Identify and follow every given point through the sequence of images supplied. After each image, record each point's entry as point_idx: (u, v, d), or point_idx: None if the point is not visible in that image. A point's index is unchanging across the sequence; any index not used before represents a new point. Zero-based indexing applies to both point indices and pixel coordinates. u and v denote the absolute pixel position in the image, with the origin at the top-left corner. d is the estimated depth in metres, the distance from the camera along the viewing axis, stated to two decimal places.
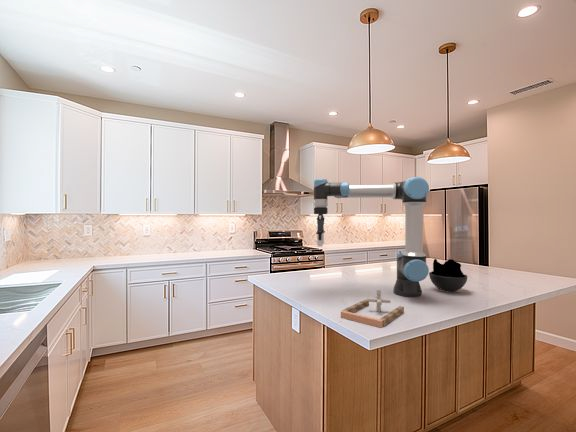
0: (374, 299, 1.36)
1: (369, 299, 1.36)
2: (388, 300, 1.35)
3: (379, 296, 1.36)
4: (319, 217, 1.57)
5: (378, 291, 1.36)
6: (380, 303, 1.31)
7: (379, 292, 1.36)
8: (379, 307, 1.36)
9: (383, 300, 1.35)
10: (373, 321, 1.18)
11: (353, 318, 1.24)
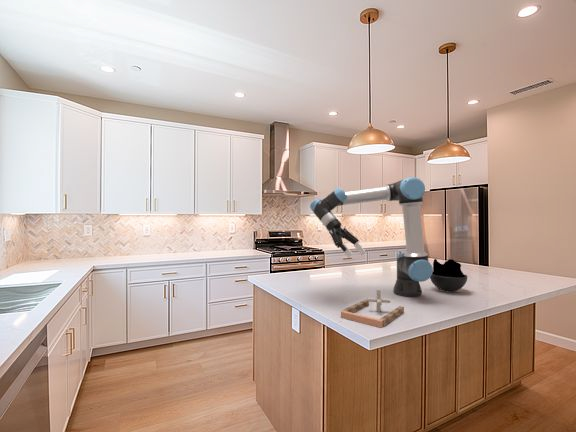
0: (374, 299, 1.36)
1: (369, 299, 1.36)
2: (388, 300, 1.35)
3: (379, 296, 1.36)
4: (330, 232, 1.45)
5: (378, 291, 1.36)
6: (380, 303, 1.31)
7: (379, 292, 1.36)
8: (379, 307, 1.36)
9: (383, 300, 1.35)
10: (373, 321, 1.18)
11: (353, 318, 1.24)
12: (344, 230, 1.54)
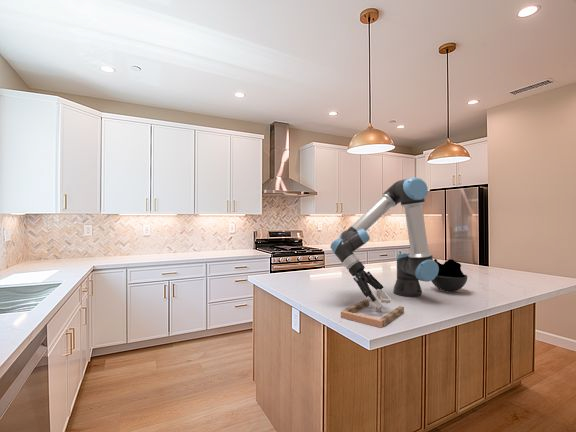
0: None
1: (369, 299, 1.36)
2: (388, 300, 1.35)
3: (379, 296, 1.36)
4: (355, 279, 1.36)
5: (378, 291, 1.36)
6: None
7: (379, 292, 1.36)
8: None
9: (383, 300, 1.35)
10: (373, 321, 1.18)
11: (353, 318, 1.24)
12: (368, 273, 1.46)
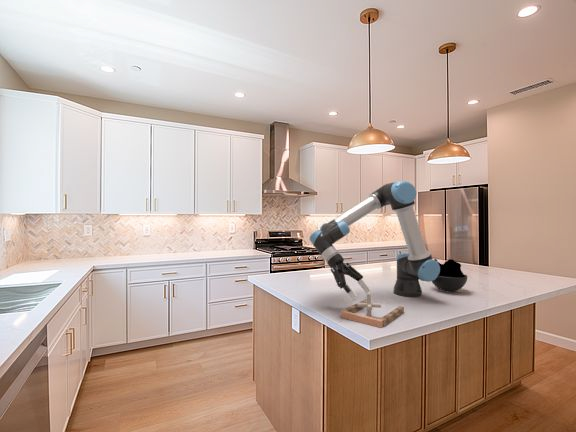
0: (364, 304, 1.29)
1: (359, 304, 1.29)
2: (379, 305, 1.27)
3: (369, 300, 1.28)
4: (332, 270, 1.32)
5: (368, 295, 1.28)
6: (370, 308, 1.24)
7: (369, 296, 1.28)
8: (369, 312, 1.28)
9: (374, 305, 1.28)
10: (373, 321, 1.18)
11: (353, 318, 1.24)
12: (347, 265, 1.41)
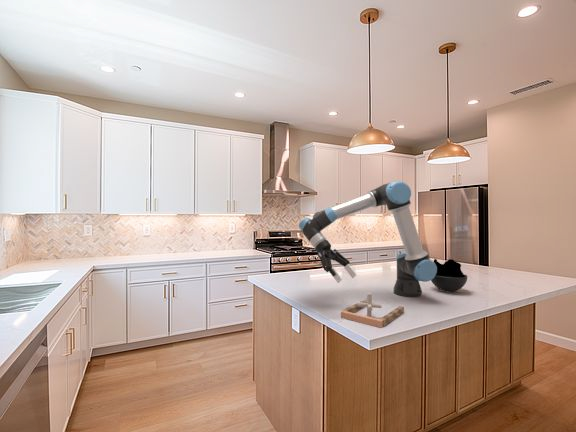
0: (365, 304, 1.28)
1: (359, 304, 1.29)
2: (379, 305, 1.27)
3: (370, 301, 1.28)
4: (319, 254, 1.38)
5: (369, 295, 1.28)
6: (371, 308, 1.24)
7: (370, 296, 1.28)
8: (370, 312, 1.28)
9: (374, 305, 1.28)
10: (373, 321, 1.18)
11: (353, 318, 1.24)
12: (334, 251, 1.47)
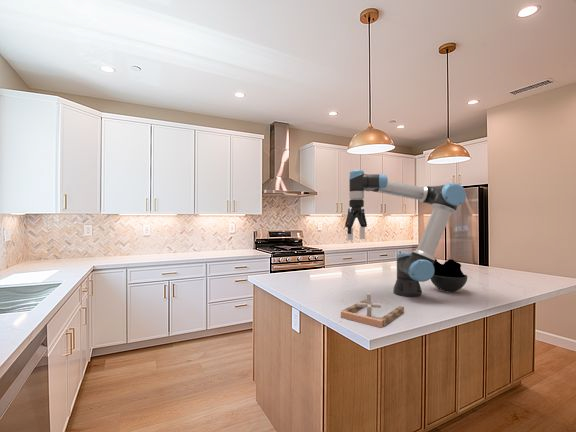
0: (364, 304, 1.29)
1: (359, 304, 1.29)
2: (379, 305, 1.27)
3: (369, 301, 1.28)
4: (349, 210, 1.51)
5: (368, 295, 1.28)
6: (370, 308, 1.24)
7: (369, 296, 1.28)
8: (369, 312, 1.28)
9: (373, 305, 1.28)
10: (373, 321, 1.18)
11: (353, 318, 1.24)
12: (362, 210, 1.60)
